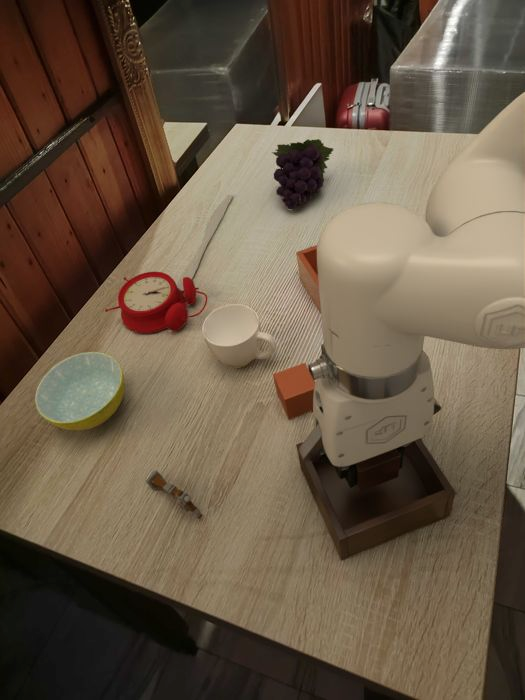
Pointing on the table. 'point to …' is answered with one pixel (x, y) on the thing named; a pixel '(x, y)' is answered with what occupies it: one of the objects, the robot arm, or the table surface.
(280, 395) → the terracotta block
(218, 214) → the butter knife
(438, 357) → the table surface
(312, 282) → the terracotta bin
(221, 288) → the table surface
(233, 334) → the cup
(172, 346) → the table surface
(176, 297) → the alarm clock
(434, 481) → the walnut bin
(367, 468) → the walnut block
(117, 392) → the bowl
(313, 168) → the fruit
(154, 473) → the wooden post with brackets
